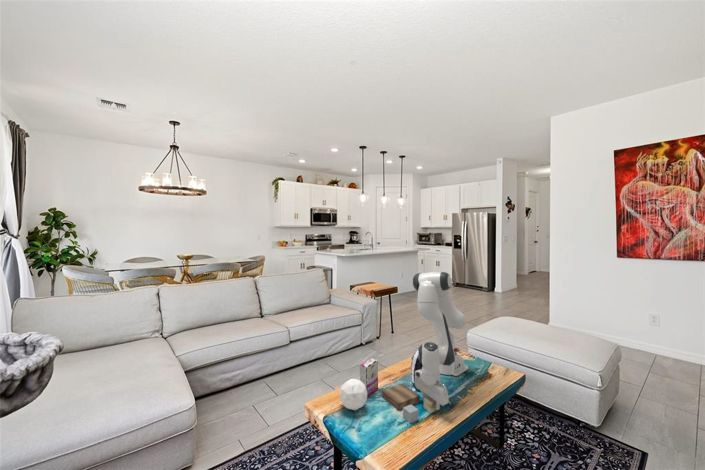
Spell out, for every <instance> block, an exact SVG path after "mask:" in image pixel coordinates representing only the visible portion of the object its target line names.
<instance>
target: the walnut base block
mask: <svg viewBox="0 0 705 470" xmlns="http://www.w3.org/2000/svg"><path fill="white" fill-rule="evenodd" d="M381 398H383V399H384V400H385V401H386V402H388V404H390V405H391V406H392V407H393V408H395V409H396V410H397V411H401V410H403V407H406V406H408V405H413V406H414V405H417V404H419V403H421V399H420V398H421V396H420V394H418V392H415V391H414V390H413V389H412V388H410V387H408V386H406V385H405V384H404V383H401V384H397V385H394V386H391V387H389V388H385V389H382V390H381Z"/></svg>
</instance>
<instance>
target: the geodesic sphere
mask: <svg viewBox="0 0 705 470" xmlns="http://www.w3.org/2000/svg"><path fill="white" fill-rule="evenodd" d="M339 397H340V398H339V399H340V402H341V404H342V405H343V406H344V407H345V408H346V409H348V410H352V411H357V410H359V409H360V408H363V407H364V406H365V404H366V402H367V398H368V397H367V390H366V387H365V385H364V384H363V383H362V382H361V381H360V379H355V378H351V379H348V380H347V381H345V382H344V383H343V384H342V385H341V387H340V391H339Z"/></svg>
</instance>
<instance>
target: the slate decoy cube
mask: <svg viewBox="0 0 705 470" xmlns="http://www.w3.org/2000/svg"><path fill="white" fill-rule="evenodd" d="M402 418H403V419H404V420H405V421H406V422H408V423H409V424H412V423H415V422H417V421H419V409H418V408H416V407H415V406H414V405H408V406H406V407H403V409H402Z"/></svg>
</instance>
